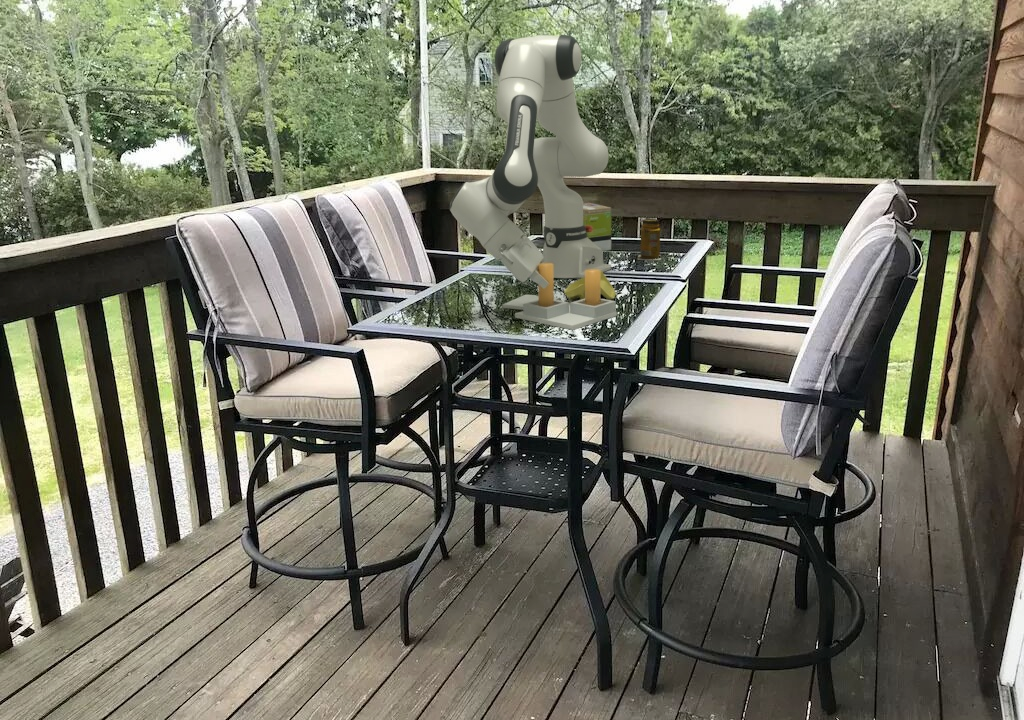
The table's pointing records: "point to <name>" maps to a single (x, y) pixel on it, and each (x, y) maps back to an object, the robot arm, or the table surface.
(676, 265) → the table surface
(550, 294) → the pin
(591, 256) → the robot arm
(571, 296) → the plastic component
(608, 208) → the tea box
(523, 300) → the lid
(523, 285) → the table surface
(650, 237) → the condiment
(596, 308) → the housing
